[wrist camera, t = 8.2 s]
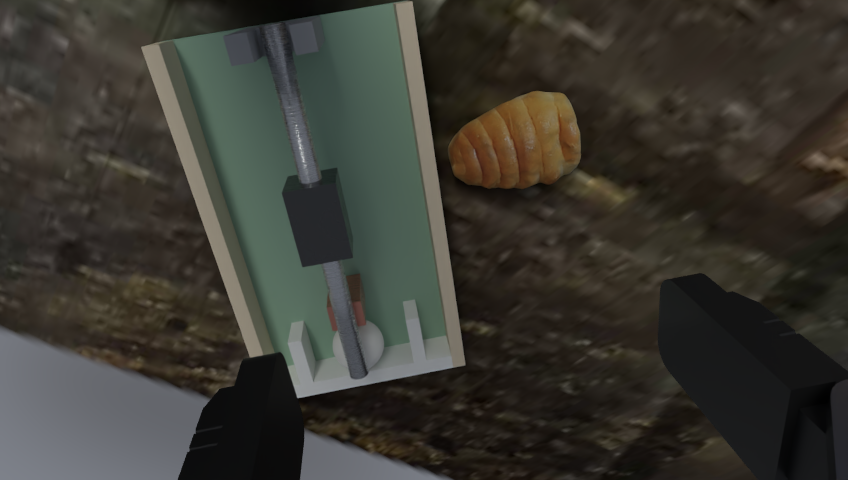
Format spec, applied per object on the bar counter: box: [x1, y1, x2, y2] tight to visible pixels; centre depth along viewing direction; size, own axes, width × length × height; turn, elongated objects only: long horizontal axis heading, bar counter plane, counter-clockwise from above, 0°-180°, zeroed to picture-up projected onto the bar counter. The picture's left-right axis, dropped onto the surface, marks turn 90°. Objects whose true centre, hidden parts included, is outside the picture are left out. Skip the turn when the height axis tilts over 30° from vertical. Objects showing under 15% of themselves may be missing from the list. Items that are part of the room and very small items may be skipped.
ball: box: [332, 320, 384, 369], centre depth 43 cm, size 4×4×4 cm
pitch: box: [141, 0, 465, 398], centre depth 38 cm, size 27×16×8 cm, turn 8°
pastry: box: [448, 91, 581, 189], centre depth 40 cm, size 9×7×4 cm
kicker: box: [259, 22, 369, 380], centre depth 37 cm, size 24×3×6 cm, turn 8°
